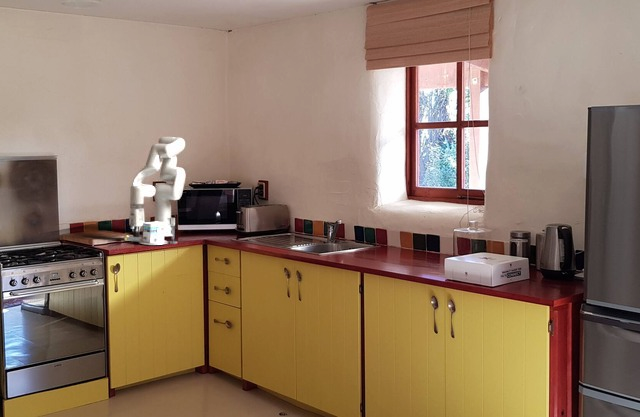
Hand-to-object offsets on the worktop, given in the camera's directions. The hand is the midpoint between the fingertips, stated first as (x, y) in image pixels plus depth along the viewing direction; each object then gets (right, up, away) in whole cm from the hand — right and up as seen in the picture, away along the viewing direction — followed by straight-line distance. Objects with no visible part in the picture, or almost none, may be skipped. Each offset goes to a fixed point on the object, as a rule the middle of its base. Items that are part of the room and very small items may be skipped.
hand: (136, 238), depth 432 cm
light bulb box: (+12, -2, -9) cm, 16 cm away
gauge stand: (+22, -3, -5) cm, 23 cm away
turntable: (+7, -2, -8) cm, 11 cm away
